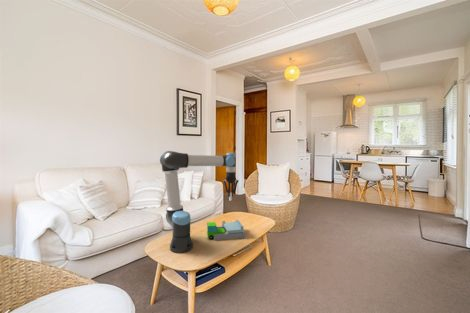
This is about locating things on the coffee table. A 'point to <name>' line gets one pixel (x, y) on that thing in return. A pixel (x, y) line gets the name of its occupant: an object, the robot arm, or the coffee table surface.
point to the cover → (233, 226)
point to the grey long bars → (229, 235)
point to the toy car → (213, 230)
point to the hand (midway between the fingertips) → (230, 200)
